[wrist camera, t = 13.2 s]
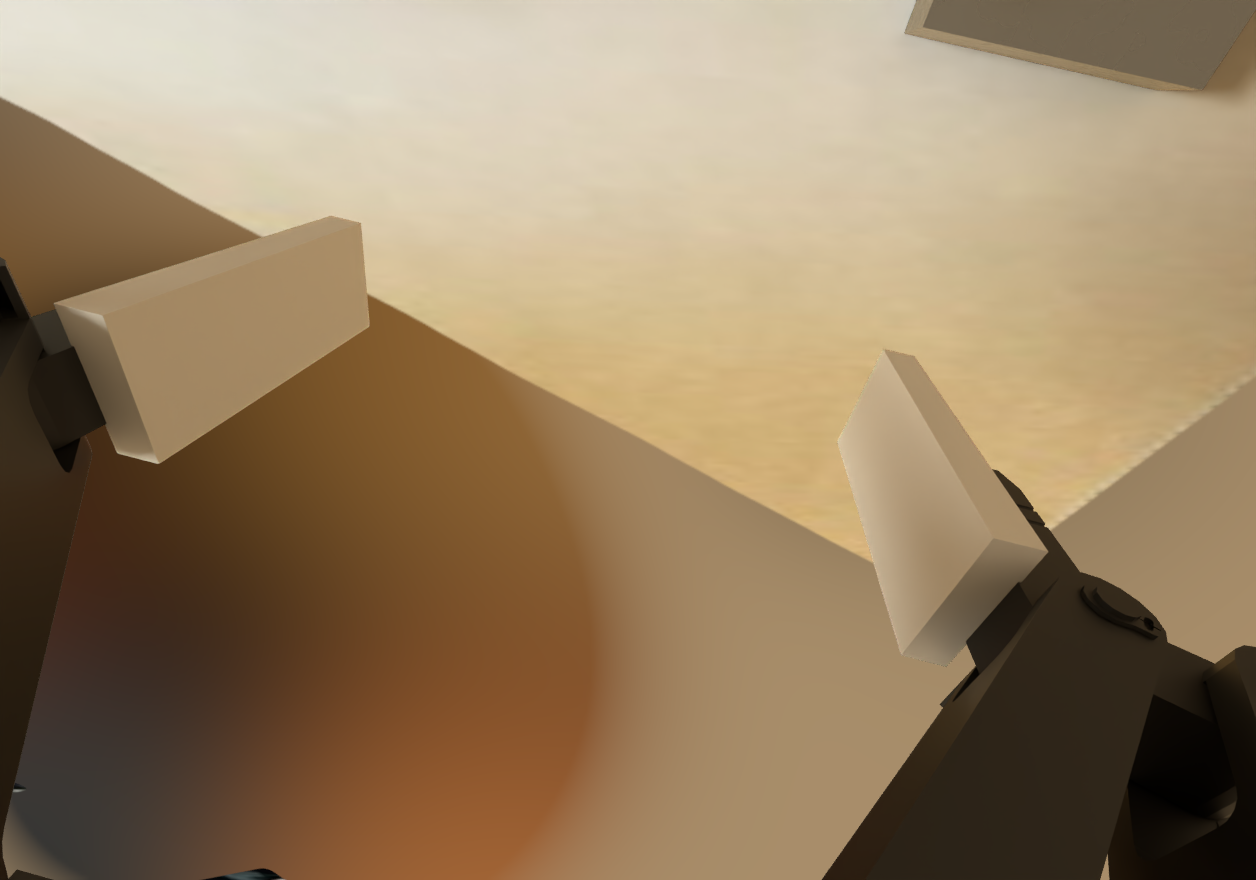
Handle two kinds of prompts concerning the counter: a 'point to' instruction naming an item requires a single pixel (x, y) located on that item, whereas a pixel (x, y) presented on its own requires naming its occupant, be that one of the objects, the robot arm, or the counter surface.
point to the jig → (1096, 35)
